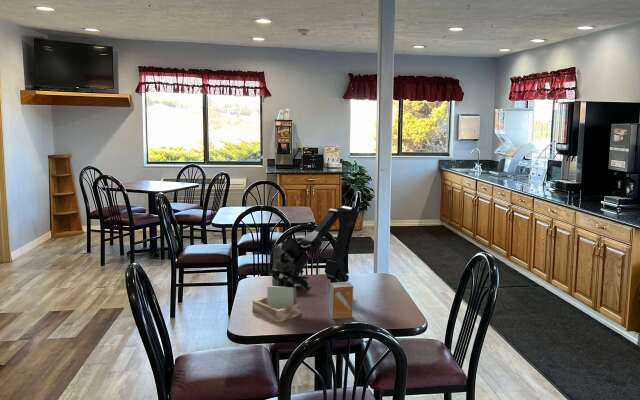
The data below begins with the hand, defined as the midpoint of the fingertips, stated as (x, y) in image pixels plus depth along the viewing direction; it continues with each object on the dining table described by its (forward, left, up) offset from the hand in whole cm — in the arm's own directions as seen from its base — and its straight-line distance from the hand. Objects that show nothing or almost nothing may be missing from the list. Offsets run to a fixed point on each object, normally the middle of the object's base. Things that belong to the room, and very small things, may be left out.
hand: (277, 296), depth 219 cm
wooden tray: (0, +1, -6) cm, 6 cm away
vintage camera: (0, -33, -7) cm, 34 cm away
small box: (-25, +2, -7) cm, 26 cm away
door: (-2, +1, -5) cm, 5 cm away
